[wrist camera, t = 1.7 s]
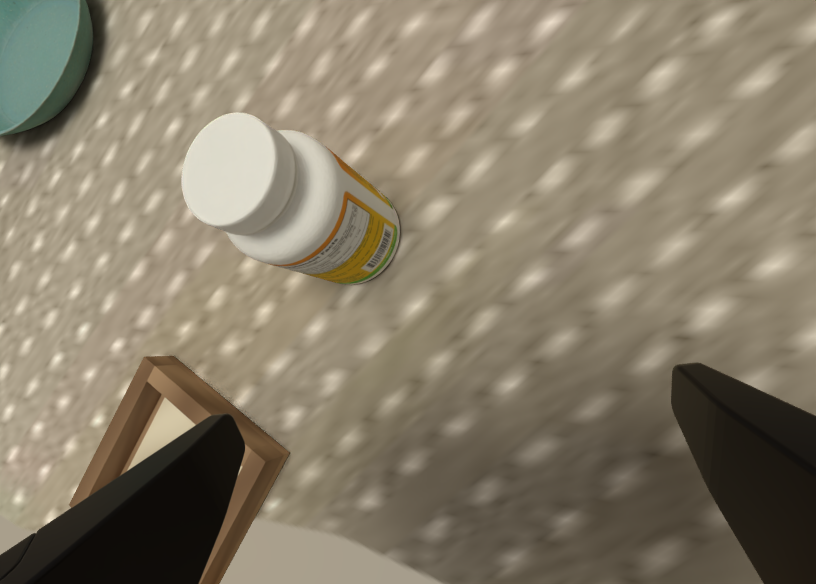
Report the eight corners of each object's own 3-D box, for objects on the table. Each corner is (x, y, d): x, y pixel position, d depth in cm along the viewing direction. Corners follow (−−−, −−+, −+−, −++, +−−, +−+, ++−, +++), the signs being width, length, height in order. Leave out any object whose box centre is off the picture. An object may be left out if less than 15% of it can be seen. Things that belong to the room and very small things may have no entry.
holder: (289, 453, 24) (265, 461, 22) (205, 609, 24) (175, 630, 22) (173, 356, 27) (144, 356, 25) (102, 494, 28) (69, 504, 26)
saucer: (120, 109, 32) (82, 89, 30) (-9, 176, 36) (-51, 163, 34) (107, -55, 35) (72, -85, 32) (-11, 26, 39) (-50, 4, 37)
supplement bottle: (306, 205, 25) (158, 124, 16) (392, 175, 23) (281, 66, 14) (319, 296, 24) (169, 265, 15) (411, 272, 22) (304, 220, 13)
